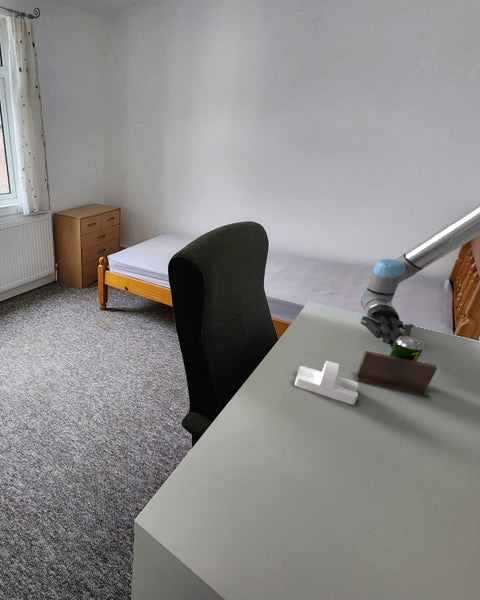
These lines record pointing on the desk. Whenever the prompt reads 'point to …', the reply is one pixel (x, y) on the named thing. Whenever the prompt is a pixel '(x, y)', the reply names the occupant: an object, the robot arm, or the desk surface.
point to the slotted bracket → (327, 383)
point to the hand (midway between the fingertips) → (398, 349)
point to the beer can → (407, 348)
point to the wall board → (395, 373)
